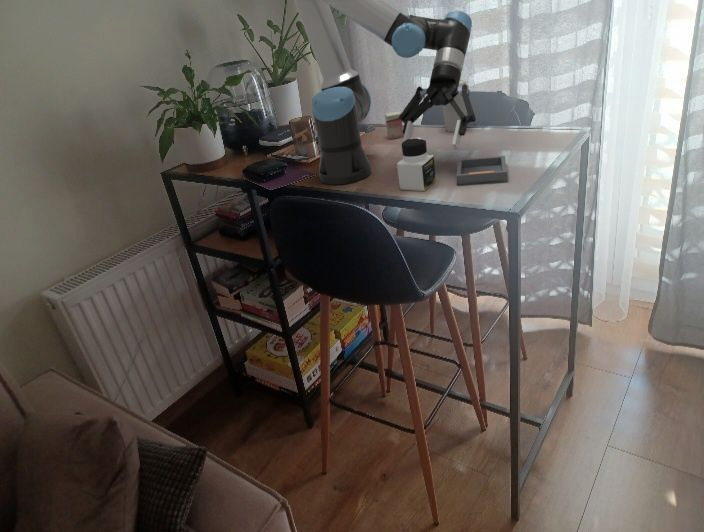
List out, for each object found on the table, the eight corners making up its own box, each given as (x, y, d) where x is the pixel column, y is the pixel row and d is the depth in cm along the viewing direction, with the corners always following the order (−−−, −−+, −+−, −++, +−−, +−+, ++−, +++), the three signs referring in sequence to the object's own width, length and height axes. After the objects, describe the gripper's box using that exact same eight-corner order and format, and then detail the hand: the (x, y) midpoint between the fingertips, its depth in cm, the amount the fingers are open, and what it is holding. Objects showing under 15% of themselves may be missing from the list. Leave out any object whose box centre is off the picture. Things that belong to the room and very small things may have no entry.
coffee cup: (444, 125, 178) (441, 80, 171) (472, 124, 175) (470, 77, 167) (438, 134, 171) (434, 87, 163) (467, 132, 167) (465, 84, 160)
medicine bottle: (425, 191, 130) (420, 144, 124) (399, 189, 134) (393, 144, 128) (436, 180, 135) (432, 135, 129) (411, 179, 139) (406, 135, 133)
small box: (389, 139, 174) (386, 116, 170) (387, 136, 178) (384, 113, 174) (404, 137, 174) (401, 113, 170) (401, 133, 178) (399, 110, 174)
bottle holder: (457, 185, 130) (456, 175, 129) (458, 168, 140) (458, 158, 139) (507, 181, 127) (507, 171, 126) (505, 164, 137) (504, 154, 136)
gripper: (498, 76, 132) (481, 153, 129) (409, 81, 145) (392, 152, 142) (490, 58, 126) (473, 140, 123) (398, 66, 139) (380, 139, 136)
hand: (429, 146), depth 132 cm, fingers open, 13 cm apart
